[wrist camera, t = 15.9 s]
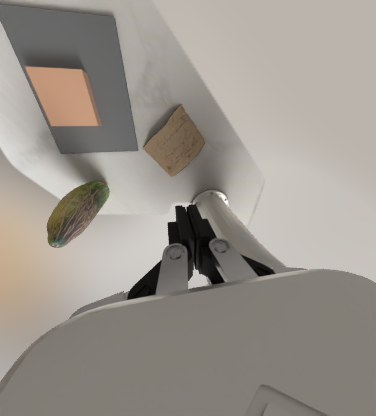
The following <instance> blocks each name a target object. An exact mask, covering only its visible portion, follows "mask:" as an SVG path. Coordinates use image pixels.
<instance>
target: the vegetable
mask: <svg viewBox="0 0 376 416" xmlns="http://www.w3.org/2000/svg"><path fill="white" fill-rule="evenodd" d="M109 193H110V192H109V188H108V186H107V185H106V184H104V183H102V182H99V181H94V182H89V183H86V184H84V185H81V186H79V187H77V188H75V189H73V190H72V191H71V192H69V193H68V194H67V195H66V196H65V197H63V198H62V200H61V201H60V202H59V203H58V205H57V207H56V208H55V209H54V210H53V212H52V214H51V216H50V217H49V220H48V223H47V231H48V243H49V245H50V246H52V247H56V248H59V247H63V246H65V245H67V244H68V243H69V242H70V241H71V240H73V239H74V238H76V237H77V236H78V235H80V234H81V233H82V232H83V231H84V230H85V228H87V226H88V225H89V224H90V222H91V221H92V220H93V219H94V217H95V216H96V214H97V213H98V212H99V210H100V209H101V207H102V206H103V205H104V203H105V202H106V201H107V199H108V197H109Z"/></svg>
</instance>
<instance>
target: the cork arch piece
mask: <svg viewBox="0 0 376 416" xmlns="http://www.w3.org/2000/svg"><path fill="white" fill-rule="evenodd" d="M204 144H205V142H204V137H203V136H202V135H201V133H200V132H199V130H198V129H197V127H196V126H195V125H194V123H193V122H192V120H191V119H190V117H189V116H188V114H186V112H185V110H184V108H183V107H182V105H180V106H179V107H178V109H177V111H175V112H174V113H173V115H172V116H171V117H170V118H169V120H168V122H167V124H166V126H163V128H162V129H161V130H160V131H159V132H158V133H157V134H156V135H154V137H152V138H151V139H150V140H149V141H148V143H147V144H146V146H144V147H143V149H144V150H145V151H146V152H147V153H149V154H150V155H151V156H152V157H153V158H154V159H155V160H156V161H157V162H158V163H159V165H160V166H161V167H162V168H163V169H164V170H165V171H166V172H167V173H168V174H169V175H170V176H174V175H176V174H177V173H178V172H179V171H181V170H182V169H183V168H184V167H186V166H187V165H188V164H189V163H190V161H191V160H192V159H193V158H194V157H195V156H196V155H197V153H198V152H199V151H200V150H201V148H202V147H203V145H204Z"/></svg>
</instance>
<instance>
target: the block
mask: <svg viewBox="0 0 376 416" xmlns="http://www.w3.org/2000/svg"><path fill="white" fill-rule="evenodd" d="M25 68H26V71H27V73H28V75H29V77H30V80H31V82H32V84H33V86H34V89H35V91H36V93H37V95H38V98H39V100H40V102H41V104H42V106H43V109H44V111H45V113H46V115H47V118H48V120H49V122H50V124H51V126H102V124H101V121H100V117H99V114H98V110H97V107H96V103H95V100H94V96H93V92H92V89H91V85H90V82H89V78H88V75H87V73H86V72H84V71H83V70H82V69H64V68H45V67H26V66H25Z"/></svg>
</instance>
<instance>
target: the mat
mask: <svg viewBox="0 0 376 416" xmlns="http://www.w3.org/2000/svg"><path fill="white" fill-rule="evenodd" d="M0 21H1V23H2V25H3V27H4V29H5V32H6V34H7V36H8V38H9V40H10V43H11V45H12V47H13V49H14V51H15V54H16V56H17V58H18V60H19V62H20V65H21V67H22V69H23V71H24V73H25V76H26V78H27V80H28V82H29V84H30V87H31V89H32V91H33V93H34V95H35V98H36V100H37V102H38V104H39V106H40V109H41V111H42V113H43V115H44V117H45V120H46V122H47V124H48V126H49V128H50V131H51V133H52V135H53V137H54V139H55V142H56V144H57V146H58V148H59V150H60V153H61V154H63V153H91V152H120V151H138V146H137V140H136V135H135V129H134V124H133V118H132V112H131V107H130V101H129V95H128V90H127V84H126V79H125V73H124V67H123V62H122V56H121V51H120V45H119V39H118V34H117V28H116V22H115V18H114V17H113V16H104V15H95V14H86V13H77V12H68V11H59V10H50V9H41V8H32V7H23V6H14V5H5V4H0ZM25 66H26V67H45V68H64V69H82V70H83V71H84V72H86V73H87V75H88V78H89V82H90V85H91V89H92V92H93V96H94V100H95V103H96V107H97V110H98V114H99V117H100V121H101V124H102V126H51V124H50V122H49V120H48V118H47V115H46V113H45V111H44V109H43V106H42V104H41V102H40V100H39V98H38V95H37V93H36V91H35V89H34V86H33V84H32V82H31V80H30V77H29V75H28V73H27V71H26V68H25Z"/></svg>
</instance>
